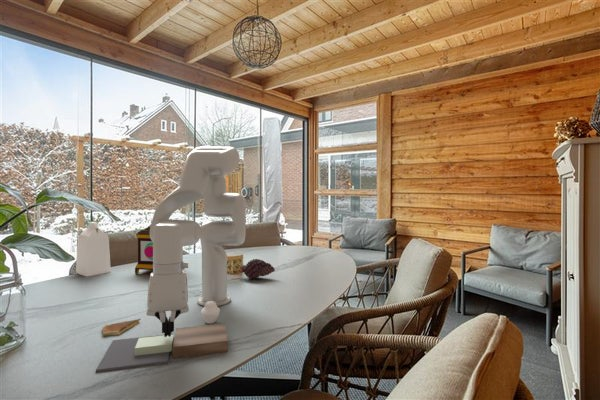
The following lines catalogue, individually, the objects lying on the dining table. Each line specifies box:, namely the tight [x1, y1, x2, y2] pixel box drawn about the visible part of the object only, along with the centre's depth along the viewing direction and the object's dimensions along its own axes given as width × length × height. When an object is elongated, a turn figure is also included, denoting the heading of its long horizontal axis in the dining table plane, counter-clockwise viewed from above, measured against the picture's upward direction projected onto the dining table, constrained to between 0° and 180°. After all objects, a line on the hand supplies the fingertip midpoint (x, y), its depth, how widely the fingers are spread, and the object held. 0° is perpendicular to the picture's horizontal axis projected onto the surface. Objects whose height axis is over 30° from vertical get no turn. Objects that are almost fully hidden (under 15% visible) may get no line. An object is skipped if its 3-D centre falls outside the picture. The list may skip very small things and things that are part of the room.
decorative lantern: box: [134, 223, 153, 275], centre depth 174 cm, size 20×20×30 cm
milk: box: [75, 221, 112, 277], centre depth 170 cm, size 12×12×26 cm
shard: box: [102, 318, 141, 337], centre depth 102 cm, size 11×8×2 cm
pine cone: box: [239, 258, 276, 280], centre depth 162 cm, size 18×10×10 cm, turn 88°
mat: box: [95, 333, 174, 373], centre depth 88 cm, size 16×16×1 cm
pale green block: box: [135, 333, 175, 356], centre depth 89 cm, size 9×6×2 cm, turn 107°
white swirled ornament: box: [200, 301, 221, 325], centre depth 109 cm, size 6×6×7 cm
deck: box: [172, 323, 229, 359], centre depth 93 cm, size 12×14×3 cm
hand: (168, 334), depth 90 cm, fingers closed
